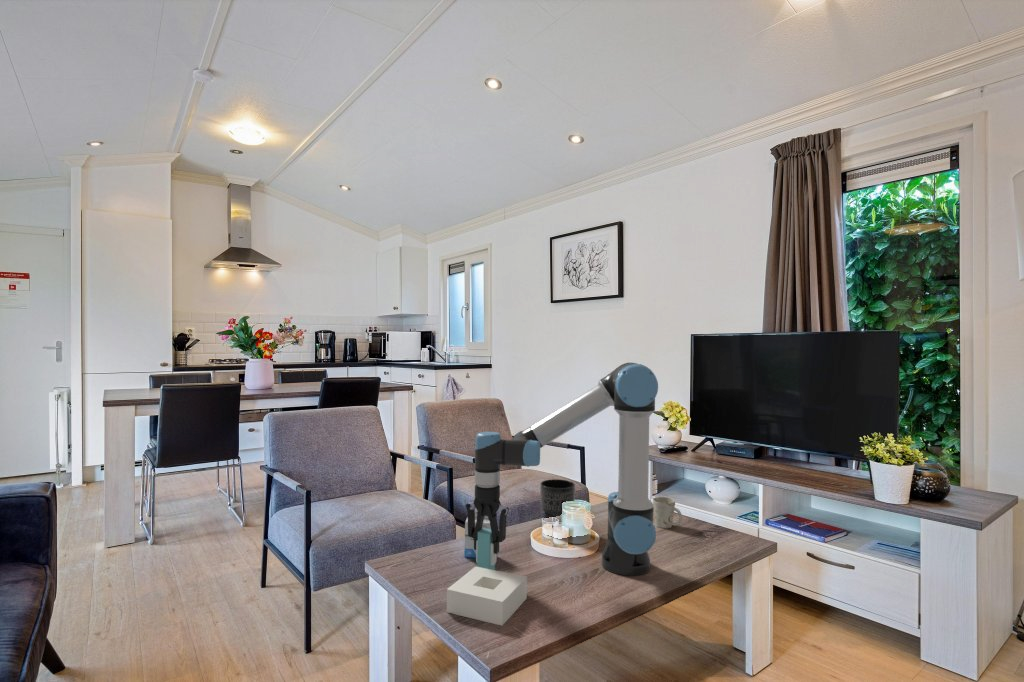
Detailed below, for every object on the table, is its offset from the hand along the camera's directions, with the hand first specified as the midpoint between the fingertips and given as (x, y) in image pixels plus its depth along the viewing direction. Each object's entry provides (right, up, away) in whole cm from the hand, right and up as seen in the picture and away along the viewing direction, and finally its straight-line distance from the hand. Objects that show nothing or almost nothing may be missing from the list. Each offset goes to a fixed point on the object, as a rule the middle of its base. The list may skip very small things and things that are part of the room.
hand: (486, 562), depth 166 cm
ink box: (-4, -5, +17) cm, 18 cm away
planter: (+24, -5, +41) cm, 48 cm away
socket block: (+1, -5, -17) cm, 18 cm away
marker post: (0, -5, 0) cm, 5 cm away
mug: (+68, -5, +47) cm, 82 cm away
